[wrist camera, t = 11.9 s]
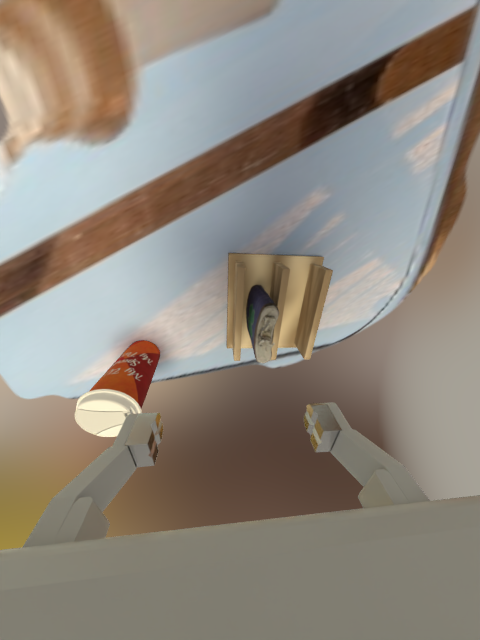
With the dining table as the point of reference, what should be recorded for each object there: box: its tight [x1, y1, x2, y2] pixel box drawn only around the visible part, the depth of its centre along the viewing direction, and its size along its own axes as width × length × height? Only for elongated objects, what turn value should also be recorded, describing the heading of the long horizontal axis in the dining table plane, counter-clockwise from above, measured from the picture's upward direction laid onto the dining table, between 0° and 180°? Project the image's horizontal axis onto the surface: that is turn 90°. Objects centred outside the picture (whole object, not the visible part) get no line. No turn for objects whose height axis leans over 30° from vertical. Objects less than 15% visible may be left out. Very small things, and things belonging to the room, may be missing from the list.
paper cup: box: [75, 340, 160, 437], centre depth 30 cm, size 8×8×14 cm
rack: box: [227, 253, 333, 361], centre depth 31 cm, size 15×17×6 cm
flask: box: [246, 285, 279, 363], centre depth 28 cm, size 9×3×11 cm, turn 177°
